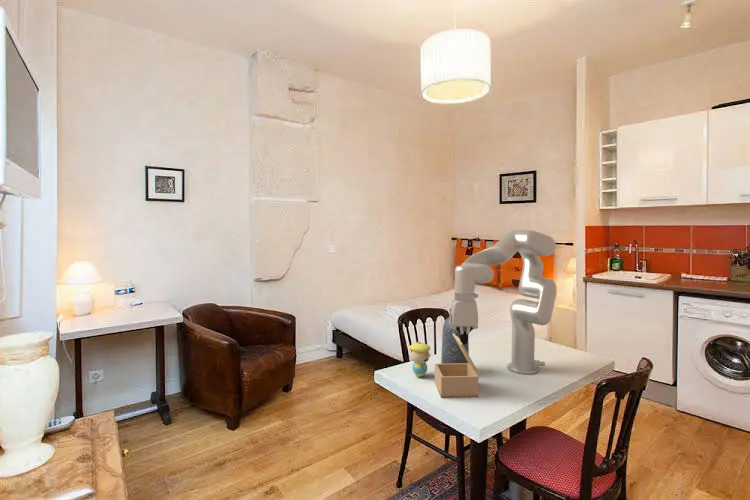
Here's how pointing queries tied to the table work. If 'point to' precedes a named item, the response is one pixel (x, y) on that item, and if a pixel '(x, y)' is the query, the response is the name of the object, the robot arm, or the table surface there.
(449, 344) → the vase
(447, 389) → the box
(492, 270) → the robot arm
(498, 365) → the table surface
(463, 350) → the lid
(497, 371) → the table surface
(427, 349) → the toy
